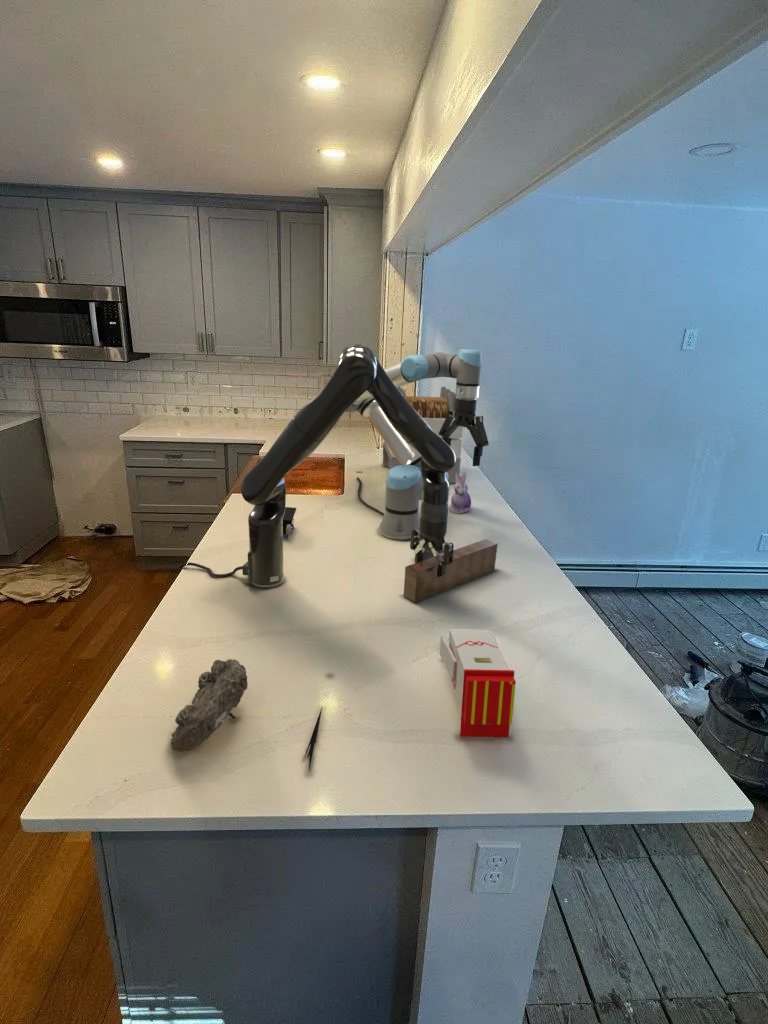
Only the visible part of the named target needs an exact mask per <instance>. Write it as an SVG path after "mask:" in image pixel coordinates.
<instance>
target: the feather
mask: <svg viewBox="0 0 768 1024" xmlns="http://www.w3.org/2000/svg"><path fill="white" fill-rule="evenodd" d="M329 675H330V676H331V675H332V674H331V673H330V674H329ZM322 710H323V707H321V708H320V710H319V713H318V716H317V719H316V723H315V725H314V728H313V731H312V733H311V737H310V739H309V742H308V745H307V748H306V751H305V754H304V757H303V760H302V763H301V767H302V765H303V763H304V761H305V758H308V759H309V760H308V762H307V763H308V764H307V766H308V771H310V770H311V766H312V765H311V764H312V760H313V757H315V756H314V755H315V751H316V749H315V746H317V739H318V733H319V729H320V722H321V717H322V712H323V711H322ZM313 754H314V755H313ZM306 755H307V757H306Z"/></svg>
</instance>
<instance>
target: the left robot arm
mask: <svg viewBox="0 0 768 1024" xmlns="http://www.w3.org/2000/svg"><path fill="white" fill-rule="evenodd" d="M383 368H384V367H383V366H382V364H381V363H380V361H379V359H378V357H377V356H376V354H375V353H374V351H373V349H371V348H370V347H369V346H367V345H365V344H364V343H359V342H355V343H351V344H348V345H347V346H345V347H344V348H343V349H342V350H341V352H340V355H339V357H338V361H337V364H336V368H335V371H333V374H332V376H331V377H330V379H329V381H328V382H327V383H326V385H325V386H324V387H323V389H322V391H320V393H319V394H318V395H317V396H316V397H314V398H313V399H311V400H310V401H309V402H307V403H306V404H305V405H303V406H302V407H301V408H300V409H299V410H298V411H297V412H296V414H295V415H294V416H293V417H292V419H291V420H290V421H289V423H287V425H286V426H285V428H284V429H283V431H281V433H280V434H279V436H278V437H277V439H276V440H275V441H274V443H273V444H272V445H271V447H270V448H269V450H268V451H267V453H266V454H265V455H264V456H263V458H261V459H260V461H258V463H256V465H255V466H254V467H252V468H251V469H250V470H249V471H248V472H247V473H246V474H245V475H244V477H243V479H242V480H241V484H240V492H241V496H242V498H243V500H244V501H245V502H246V503H248V504H249V505H252V506H253V508H252V510H251V511H250V513H249V515H248V517H247V521H248V522H247V523H248V546H249V547H248V549H249V550H248V552H247V561H246V562H245V563H244V564H243V565H241V566H237V567H235V568H234V569H233V570H232V571H231V572H228V573H214V572H213V570H212V569H211V568H210V567H207V566H205V565H203V564H201V563H195V562H183V563H182V564H180V565H179V566H178V569H182V568H184V567H186V566H188V567H189V566H193V567H196V568H200V569H203V570H205V571H207V572H208V573H209V575H210V576H211V577H214V578H227V577H230V576H233V575H235V574H236V573H237V572H238V571H240V570H241V571H242V576H247V577H248V585H250V586H251V585H252V586H254V587H257V588H262V589H268V588H274V587H278V586H280V585H281V584H283V583H284V581H285V576H284V573H285V572H284V535H283V517H284V514H285V507H286V505H287V503H286V501H287V498H286V497H287V487H286V486H287V484H286V479H285V477H286V475H288V474H289V473H290V472H291V471H292V470H294V469H295V468H296V467H297V466H299V465H300V464H301V463H303V461H304V460H306V459H307V458H309V457H310V456H311V455H312V454H313V453H314V452H315V451H316V450H317V449H318V447H319V446H321V444H322V442H324V440H325V439H326V438H327V437H328V435H329V434H330V433H331V431H332V430H333V429H334V428H335V426H336V425H337V424H338V422H339V421H340V419H341V418H342V416H343V415H344V413H345V412H347V411H346V410H347V409H348V408H349V407H350V406H351V405H352V404H353V403H354V402H355V401H356V400H357V399H358V398H359V397H360V396H362V395H363V394H364V393H365V392H366V391H368V392H369V393H370V394H371V396H372V397H373V398H374V399H375V401H376V402H377V403H378V405H379V406H380V408H381V409H382V411H383V413H384V414H385V416H386V417H387V419H388V421H389V422H390V424H391V425H392V426H393V428H394V429H395V430H396V431H397V432H398V434H399V435H400V436H401V437H402V438H403V439H404V440H405V441H406V442H407V443H408V444H409V445H410V446H411V447H413V448H414V449H415V450H417V451H418V453H419V454H420V455H421V469H422V478H423V491H422V500H421V502H420V506H419V507H420V509H419V518H420V521H419V528H418V529H415V530H412V533H411V540H410V541H409V542H410V545H409V549H410V550H412V551H413V553H414V564H415V563H418V562H420V561H423V553H422V552H423V551H424V550H426V551H429V552H430V553H432V554H433V555H434V557H435V558H436V559H437V561H438V564H439V565H438V569H437V577H439V578H440V577H443V576H444V575H445V573H446V566H447V565H449V564H452V563H453V550H454V546H455V545H454V543H453V542H447V541H446V540H445V537H446V535H447V531H448V521H449V520H448V519H449V499H450V483H449V482H448V481H447V479H446V476H445V473H446V472H449V471H450V470H452V469H453V467H454V466H455V463H456V456H455V453H454V451H453V450H452V449H451V447H450V446H449V445H448V444H447V443H446V442H445V441H444V440H442V439H441V438H440V437H439V436H438V435H437V434H436V433H435V432H434V431H433V430H432V429H431V428H430V426H429V425H428V424H427V423H426V421H425V420H424V419H423V418H422V417H421V416H420V415H419V413H418V412H417V411H416V410H415V409H414V408H413V407H412V406H411V404H410V403H409V402H408V401H407V400H406V399H405V397H404V396H403V395H402V394H401V393H400V391H399V390H398V389H397V388H396V386H395V385H394V384H393V382H392V381H391V379H390V378H389V377H388V375H387V374H386V372H385V371H384V369H383ZM439 551H441V553H440V554H438V553H437V552H439ZM440 556H441V557H442V559H443V560H441V557H440ZM448 557H449V560H448ZM187 563H188V564H187ZM186 564H187V565H186Z"/></svg>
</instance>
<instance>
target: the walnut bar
mask: <svg viewBox="0 0 768 1024" xmlns="http://www.w3.org/2000/svg"><path fill="white" fill-rule="evenodd" d="M497 554H498V543H496V542H494V541H492V540H489V539H487V538H485V539H482V540H480V541H476V542H474V543H470V544H468V545H465V546H462V547H459V548H456V549H453V563H452V564H449V565H447V566H446V573H445V575H444V576H443V577H440V578H439V577H437V569H438V565H439V564H438V561H437V559H436V558H435V557H432V558H429V559H426V560H423V561H420V562H418V563H415V562H414V563H412V564H409V565H406V566H405V567H404V582H403V597H404V598H406V599H407V600H409V601H411V602H413V603H417V602H419V601H422V600H425V599H427V598H429V597H432V596H434V595H437V594H439V593H442V592H444V591H447V590H450V589H452V588H455V587H458V586H460V585H462V584H464V583H467V582H469V581H472V580H475V579H477V578H480V577H482V576H485V575H487V574H489V573H492V572H495V569H496V559H497ZM440 557H441V556H440ZM441 560H443V559H442V557H441ZM448 560H449V557H448Z"/></svg>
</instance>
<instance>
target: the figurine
mask: <svg viewBox="0 0 768 1024" xmlns="http://www.w3.org/2000/svg"><path fill="white" fill-rule="evenodd" d="M455 476H456V483H454V486H453V490H454V494H452V496H451V499H450V507H449V508H450V510H451V511H452V512H453V513H456V514H463V513H468V512H469V511H470V510H471V506H472V498H471V496H470V493H469V492H468V490H469V487H468V484H467V482H466V480H467V472H463V474H462V476H460V474H459V475H458V474H457V473H456V475H455Z"/></svg>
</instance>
